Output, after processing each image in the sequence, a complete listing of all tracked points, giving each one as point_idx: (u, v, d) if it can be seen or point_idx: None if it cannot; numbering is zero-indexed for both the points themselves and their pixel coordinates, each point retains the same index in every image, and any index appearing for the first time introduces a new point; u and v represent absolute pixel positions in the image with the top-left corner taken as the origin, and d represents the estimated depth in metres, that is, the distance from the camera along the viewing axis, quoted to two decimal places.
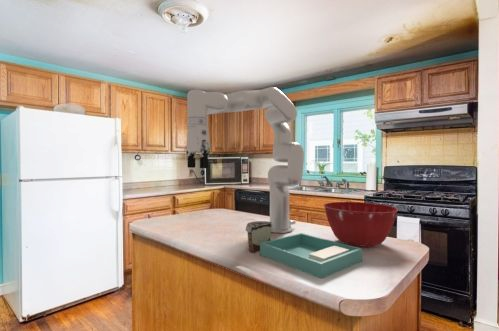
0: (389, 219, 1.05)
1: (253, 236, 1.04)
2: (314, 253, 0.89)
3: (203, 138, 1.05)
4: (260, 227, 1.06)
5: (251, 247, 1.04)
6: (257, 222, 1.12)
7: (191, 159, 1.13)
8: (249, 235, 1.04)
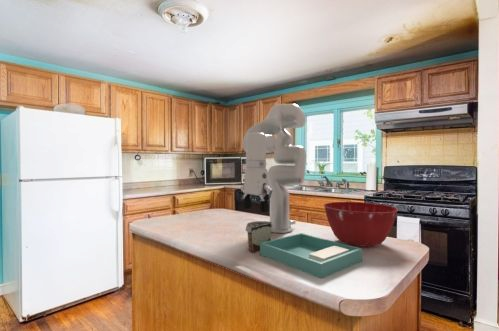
0: (389, 219, 1.05)
1: (253, 236, 1.04)
2: (314, 253, 0.89)
3: (264, 181, 1.04)
4: (260, 227, 1.06)
5: (251, 247, 1.04)
6: (257, 222, 1.12)
7: (247, 200, 1.12)
8: (249, 235, 1.04)
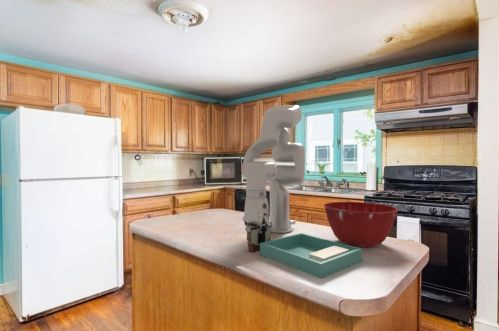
0: (389, 219, 1.05)
1: (253, 236, 1.04)
2: (314, 253, 0.89)
3: (264, 212, 1.05)
4: None
5: (250, 246, 1.04)
6: None
7: None
8: (248, 235, 1.05)
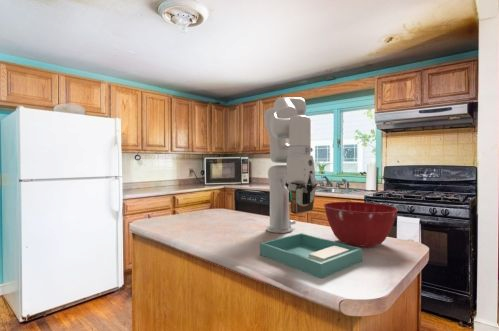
0: (389, 219, 1.05)
1: (298, 195, 0.95)
2: (314, 253, 0.89)
3: (310, 169, 0.96)
4: None
5: (295, 207, 0.95)
6: None
7: None
8: (293, 194, 0.96)
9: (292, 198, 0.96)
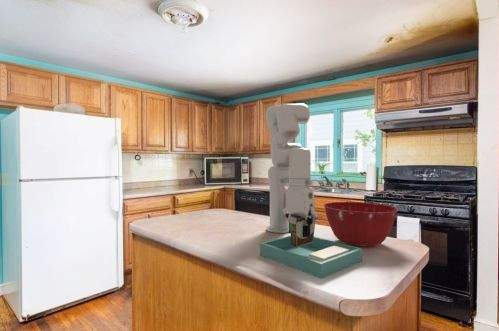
0: (389, 219, 1.05)
1: (298, 228, 0.95)
2: (314, 253, 0.89)
3: (310, 202, 0.96)
4: None
5: (295, 240, 0.95)
6: None
7: None
8: (293, 227, 0.96)
9: (292, 231, 0.96)
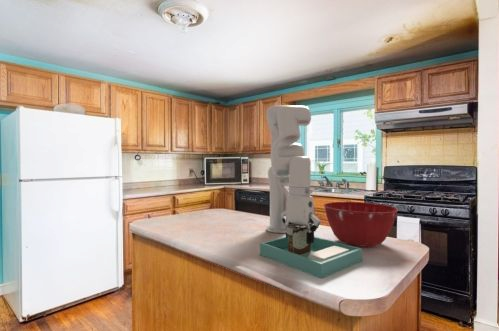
0: (389, 219, 1.05)
1: (294, 239, 0.96)
2: (314, 253, 0.89)
3: (310, 211, 0.96)
4: (301, 230, 0.98)
5: (291, 250, 0.96)
6: None
7: None
8: (290, 238, 0.97)
9: (289, 241, 0.97)
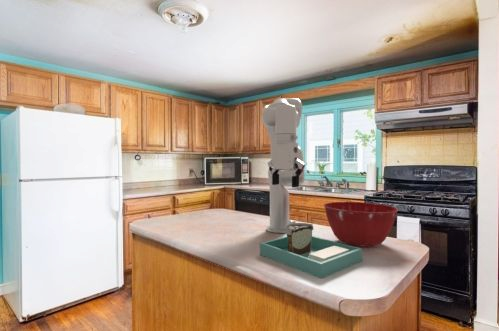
0: (389, 219, 1.05)
1: (294, 239, 0.96)
2: (314, 253, 0.89)
3: (295, 156, 1.00)
4: (300, 229, 0.99)
5: (291, 250, 0.97)
6: (296, 224, 1.04)
7: (276, 176, 1.08)
8: (289, 238, 0.97)
9: (288, 241, 0.98)
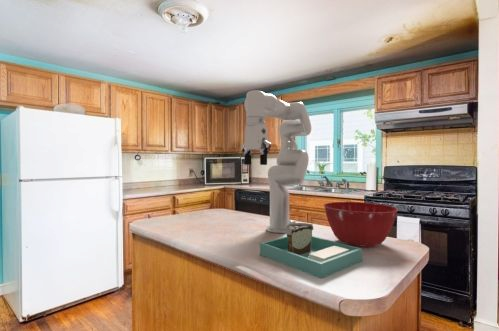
0: (389, 219, 1.05)
1: (293, 239, 0.96)
2: (314, 253, 0.89)
3: (263, 136, 1.11)
4: (300, 229, 0.99)
5: (291, 250, 0.97)
6: (296, 224, 1.04)
7: (248, 156, 1.18)
8: (289, 238, 0.97)
9: (288, 241, 0.98)
